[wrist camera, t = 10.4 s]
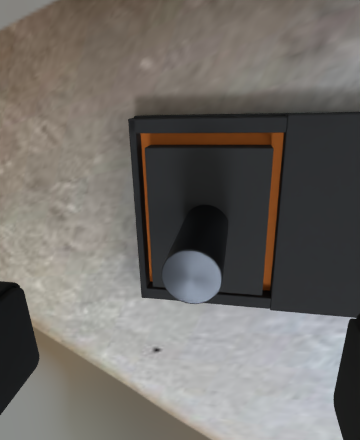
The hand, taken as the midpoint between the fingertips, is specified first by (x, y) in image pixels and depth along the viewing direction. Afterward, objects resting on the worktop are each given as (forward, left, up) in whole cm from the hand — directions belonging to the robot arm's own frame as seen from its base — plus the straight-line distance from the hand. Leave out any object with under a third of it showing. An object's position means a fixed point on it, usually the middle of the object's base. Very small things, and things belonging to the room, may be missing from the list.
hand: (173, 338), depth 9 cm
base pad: (0, +3, -13) cm, 13 cm away
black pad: (+1, 0, -12) cm, 12 cm away
